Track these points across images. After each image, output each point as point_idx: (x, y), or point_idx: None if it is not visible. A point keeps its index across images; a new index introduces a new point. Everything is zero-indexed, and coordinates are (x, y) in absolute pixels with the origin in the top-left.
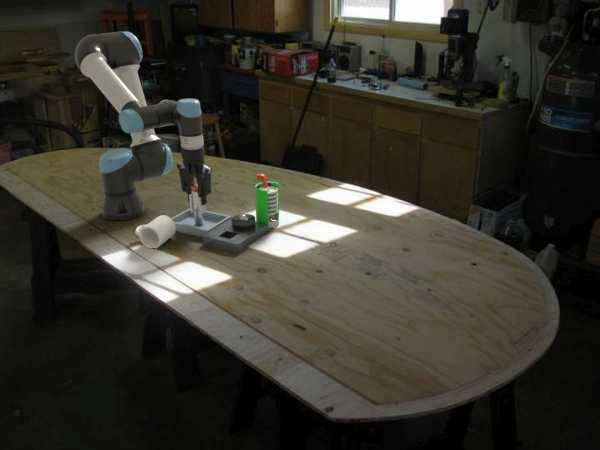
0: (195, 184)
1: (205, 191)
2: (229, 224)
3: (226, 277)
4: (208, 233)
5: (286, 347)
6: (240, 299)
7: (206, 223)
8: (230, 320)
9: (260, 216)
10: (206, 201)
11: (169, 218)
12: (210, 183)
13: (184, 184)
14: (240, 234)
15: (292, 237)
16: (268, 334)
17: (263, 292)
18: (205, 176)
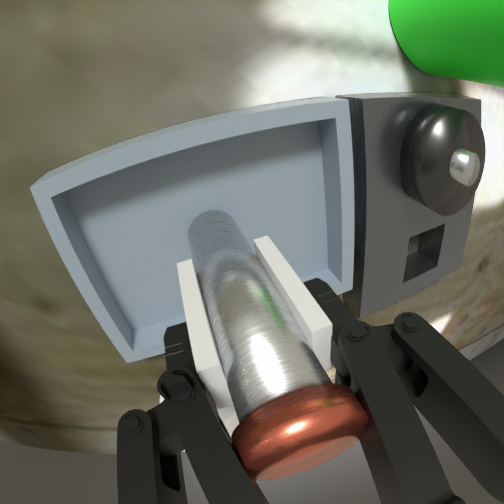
0: (287, 456)
1: (414, 380)
2: (393, 188)
3: (443, 322)
4: (366, 297)
5: (499, 326)
6: (467, 329)
7: (232, 199)
8: (462, 351)
9: (469, 80)
10: (332, 291)
11: (237, 418)
12: (482, 381)
13: (184, 494)
14: (451, 223)
15: (497, 99)
16: (490, 330)
17: (487, 298)
18: (497, 472)
